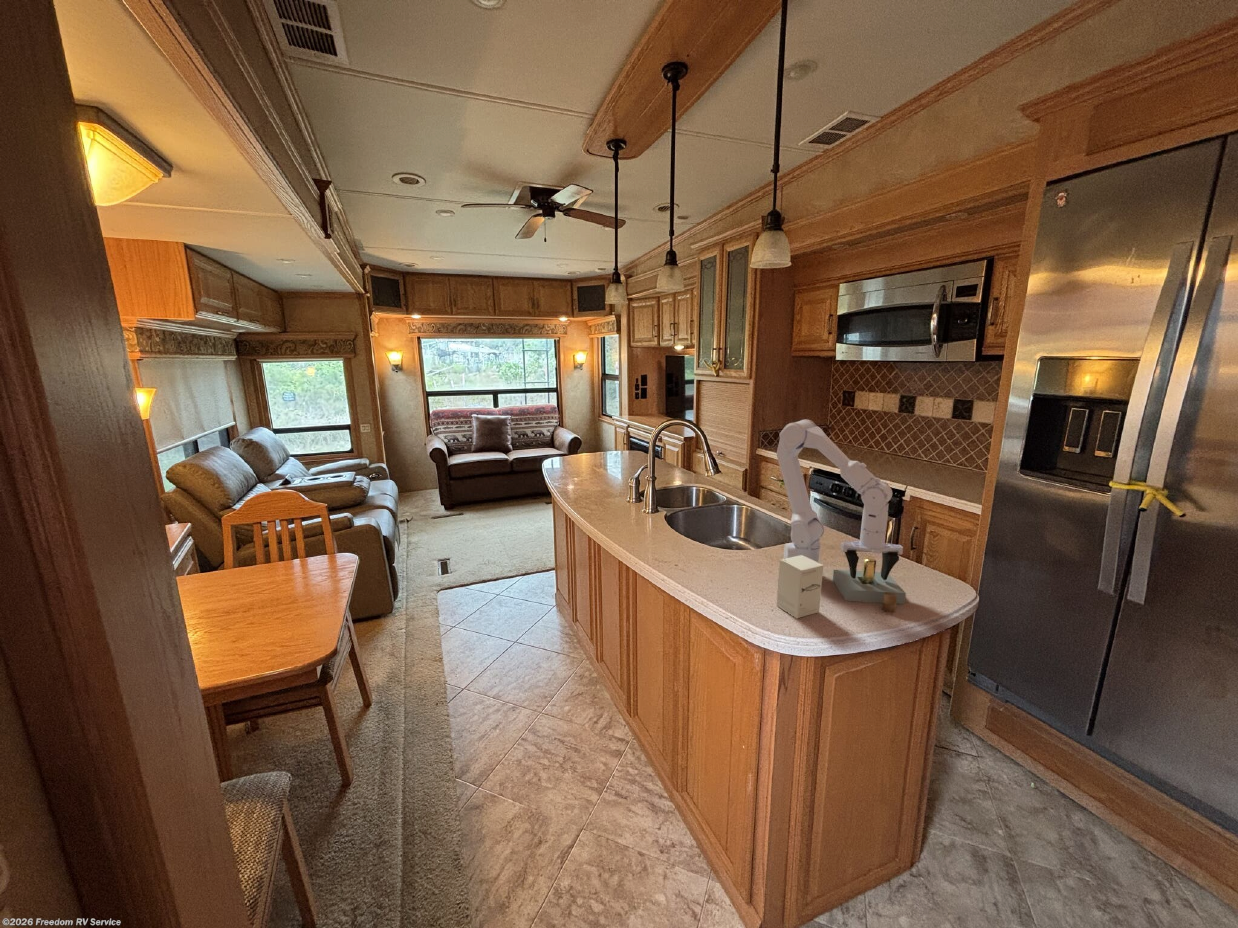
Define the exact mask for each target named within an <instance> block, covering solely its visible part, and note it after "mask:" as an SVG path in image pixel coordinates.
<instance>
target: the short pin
mask: <svg viewBox="0 0 1238 928" xmlns="http://www.w3.org/2000/svg"><path fill="white" fill-rule="evenodd" d="M896 600H897V595H895V594H893V593H889V592H886V593H884V597H883V603H882V608H881V609H882V611H883V612H885V613H889V614H893V613H895V612H896V609H897V607H896V606H897V604H896Z"/></svg>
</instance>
